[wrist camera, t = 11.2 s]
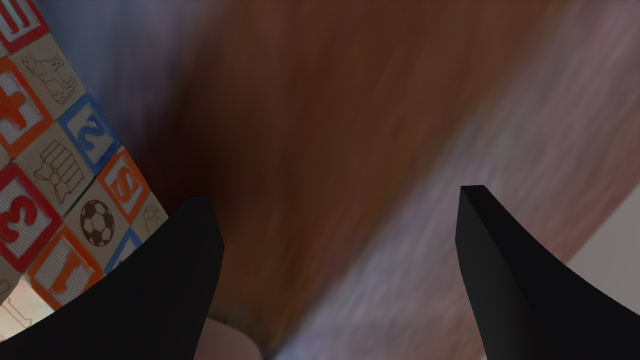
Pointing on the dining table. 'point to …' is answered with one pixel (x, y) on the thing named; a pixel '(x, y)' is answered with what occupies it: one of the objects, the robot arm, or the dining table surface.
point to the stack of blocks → (58, 179)
